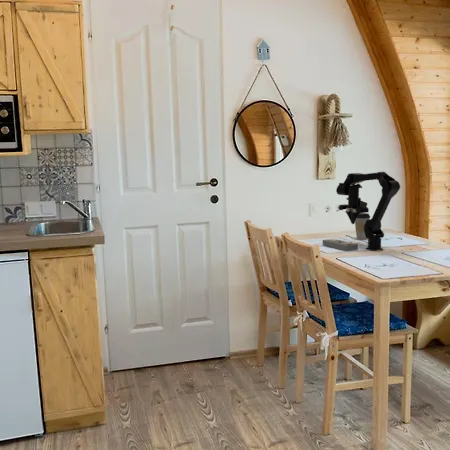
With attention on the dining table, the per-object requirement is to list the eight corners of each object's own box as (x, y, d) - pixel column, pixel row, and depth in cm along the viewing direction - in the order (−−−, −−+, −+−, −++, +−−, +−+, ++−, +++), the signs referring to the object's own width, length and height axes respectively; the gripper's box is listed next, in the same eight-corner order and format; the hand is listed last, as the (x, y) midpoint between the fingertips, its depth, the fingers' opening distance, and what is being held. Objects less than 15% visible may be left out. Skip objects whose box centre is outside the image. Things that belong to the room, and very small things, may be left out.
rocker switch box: (357, 249, 279) (357, 243, 278) (346, 251, 275) (346, 245, 275) (333, 243, 296) (333, 238, 296) (322, 245, 293) (322, 239, 292)
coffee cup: (366, 240, 304) (366, 215, 302) (350, 239, 310) (351, 214, 308) (372, 238, 312) (372, 213, 309) (357, 236, 317) (357, 212, 315)
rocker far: (340, 241, 288) (340, 239, 288) (335, 242, 286) (335, 240, 286) (332, 240, 293) (332, 238, 293) (327, 241, 292) (327, 239, 292)
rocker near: (352, 243, 279) (352, 241, 279) (347, 244, 277) (346, 242, 277) (344, 244, 285) (344, 242, 285) (339, 244, 283) (339, 242, 283)
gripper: (376, 196, 283) (376, 224, 285) (353, 194, 299) (353, 220, 301) (360, 197, 278) (360, 226, 280) (338, 195, 294) (337, 222, 296)
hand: (353, 224), depth 289 cm, fingers closed
